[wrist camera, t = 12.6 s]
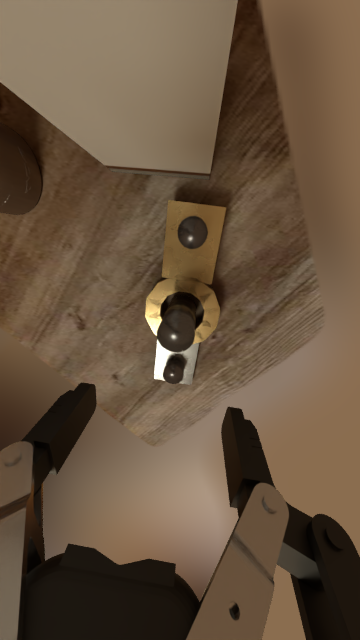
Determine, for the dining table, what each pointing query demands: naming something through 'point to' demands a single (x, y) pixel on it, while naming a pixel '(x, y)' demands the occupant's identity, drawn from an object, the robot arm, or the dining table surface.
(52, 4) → the beige rectangular tower
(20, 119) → the dining table surface
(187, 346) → the pin
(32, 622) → the robot arm
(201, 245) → the tan piece
